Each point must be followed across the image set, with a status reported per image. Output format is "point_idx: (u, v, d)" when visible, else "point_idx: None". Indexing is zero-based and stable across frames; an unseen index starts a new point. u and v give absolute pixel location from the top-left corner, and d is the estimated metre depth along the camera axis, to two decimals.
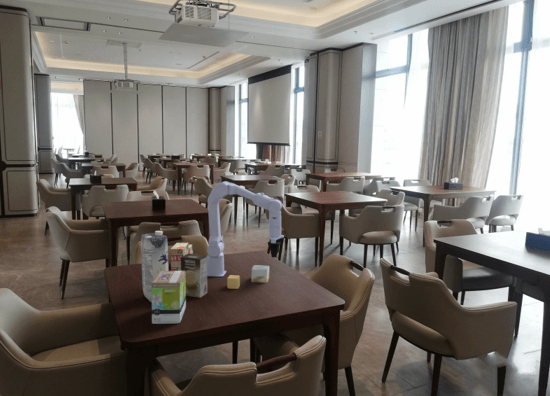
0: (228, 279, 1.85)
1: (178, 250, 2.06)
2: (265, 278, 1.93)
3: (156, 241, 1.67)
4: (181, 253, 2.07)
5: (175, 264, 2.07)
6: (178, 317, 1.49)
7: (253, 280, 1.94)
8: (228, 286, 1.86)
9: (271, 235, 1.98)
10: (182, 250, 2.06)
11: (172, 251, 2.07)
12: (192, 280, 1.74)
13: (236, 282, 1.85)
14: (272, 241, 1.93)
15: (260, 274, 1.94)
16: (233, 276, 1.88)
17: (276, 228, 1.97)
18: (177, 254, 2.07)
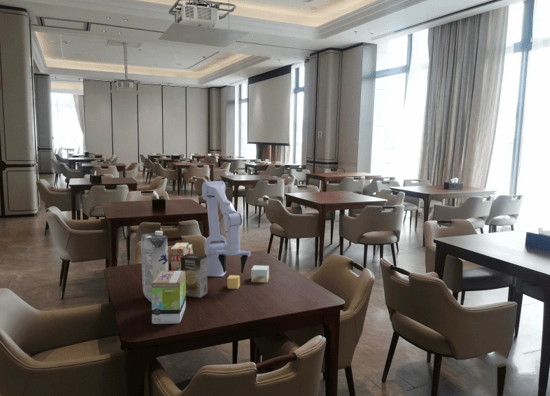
0: (228, 279, 1.85)
1: (178, 250, 2.07)
2: (265, 278, 1.93)
3: (156, 241, 1.67)
4: (181, 253, 2.07)
5: (175, 263, 2.07)
6: (178, 317, 1.49)
7: (253, 280, 1.94)
8: (228, 286, 1.86)
9: None
10: (182, 250, 2.07)
11: (172, 251, 2.07)
12: (192, 280, 1.74)
13: (236, 282, 1.85)
14: None
15: (260, 274, 1.94)
16: (233, 276, 1.88)
17: (226, 242, 1.85)
18: (177, 254, 2.07)
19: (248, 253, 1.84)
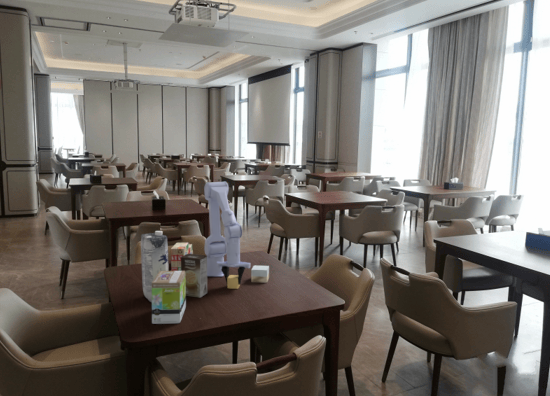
0: (228, 279, 1.85)
1: (178, 250, 2.07)
2: (265, 278, 1.93)
3: (156, 241, 1.67)
4: (181, 253, 2.07)
5: (175, 263, 2.08)
6: (178, 317, 1.49)
7: (253, 280, 1.94)
8: (228, 286, 1.86)
9: None
10: (182, 250, 2.07)
11: (172, 251, 2.07)
12: (192, 280, 1.74)
13: (236, 282, 1.85)
14: None
15: (260, 274, 1.93)
16: (233, 276, 1.88)
17: None
18: (177, 254, 2.07)
19: (248, 265, 1.85)
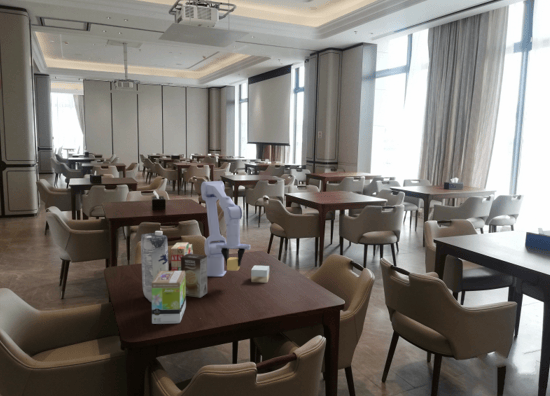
0: (228, 261, 1.84)
1: (179, 250, 2.07)
2: (265, 278, 1.93)
3: (156, 241, 1.67)
4: (182, 253, 2.07)
5: (175, 263, 2.08)
6: (178, 317, 1.49)
7: (253, 280, 1.94)
8: (228, 268, 1.85)
9: None
10: (183, 250, 2.07)
11: (173, 251, 2.07)
12: (192, 280, 1.74)
13: (236, 264, 1.84)
14: None
15: (260, 274, 1.93)
16: (233, 258, 1.87)
17: (226, 235, 1.84)
18: (178, 254, 2.07)
19: (248, 246, 1.84)
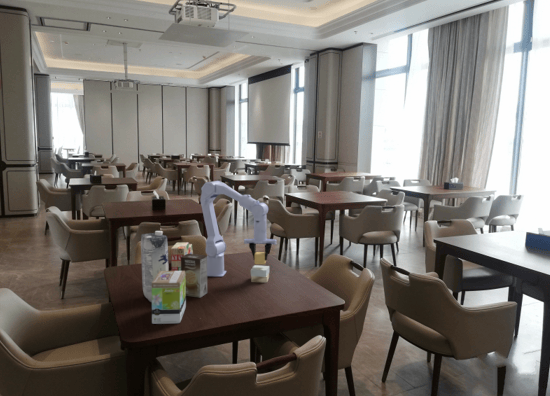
0: (255, 255, 1.94)
1: (179, 250, 2.07)
2: (265, 278, 1.94)
3: (156, 241, 1.67)
4: (182, 253, 2.07)
5: (176, 263, 2.08)
6: (178, 317, 1.49)
7: (253, 280, 1.94)
8: (255, 262, 1.94)
9: None
10: (183, 250, 2.07)
11: (173, 251, 2.07)
12: (192, 280, 1.74)
13: (263, 258, 1.94)
14: None
15: (259, 274, 1.94)
16: (260, 252, 1.96)
17: (254, 231, 1.94)
18: (178, 254, 2.07)
19: (274, 241, 1.93)
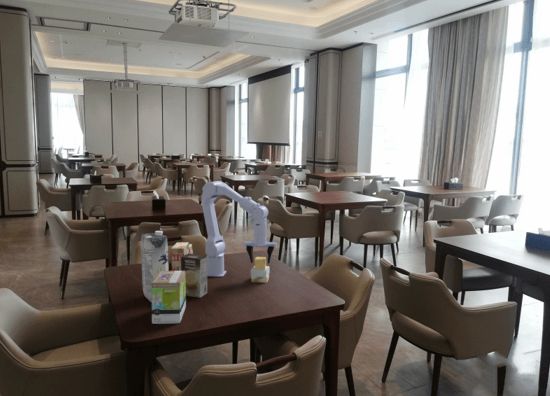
0: (255, 260, 1.94)
1: (179, 249, 2.07)
2: (265, 278, 1.93)
3: (156, 241, 1.67)
4: (182, 252, 2.08)
5: (176, 263, 2.08)
6: (178, 317, 1.49)
7: (253, 280, 1.94)
8: (255, 267, 1.95)
9: None
10: (183, 249, 2.08)
11: (173, 251, 2.08)
12: (192, 280, 1.74)
13: (263, 263, 1.94)
14: None
15: (259, 274, 1.93)
16: (260, 257, 1.97)
17: (254, 234, 1.94)
18: (178, 253, 2.08)
19: (274, 244, 1.94)
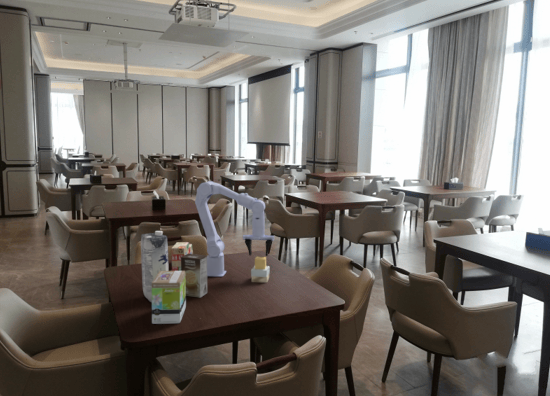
0: (255, 260, 1.95)
1: (179, 249, 2.08)
2: (265, 278, 1.94)
3: (156, 241, 1.67)
4: (182, 252, 2.08)
5: (176, 263, 2.08)
6: (178, 317, 1.49)
7: (253, 280, 1.94)
8: (255, 266, 1.95)
9: None
10: (183, 249, 2.08)
11: (173, 250, 2.08)
12: (192, 280, 1.74)
13: (263, 263, 1.94)
14: None
15: (259, 274, 1.93)
16: (260, 257, 1.97)
17: (252, 227, 2.00)
18: (178, 253, 2.08)
19: (272, 238, 1.99)
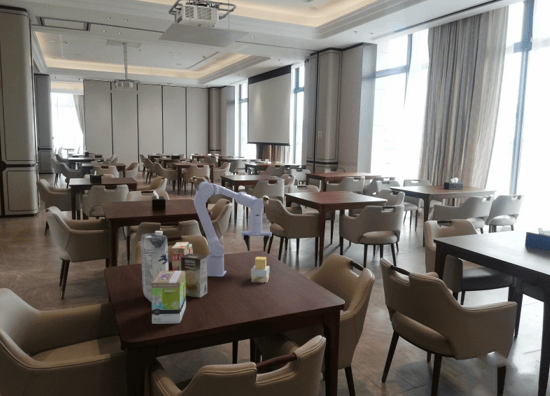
0: (256, 260, 1.94)
1: (179, 249, 2.08)
2: (265, 278, 1.93)
3: (156, 241, 1.67)
4: (182, 252, 2.08)
5: (176, 263, 2.09)
6: (178, 317, 1.49)
7: (253, 280, 1.94)
8: (256, 267, 1.95)
9: None
10: (183, 249, 2.08)
11: (173, 250, 2.08)
12: (192, 280, 1.74)
13: (263, 263, 1.94)
14: None
15: (259, 274, 1.93)
16: (260, 257, 1.97)
17: None
18: (178, 253, 2.08)
19: (270, 234, 2.08)
